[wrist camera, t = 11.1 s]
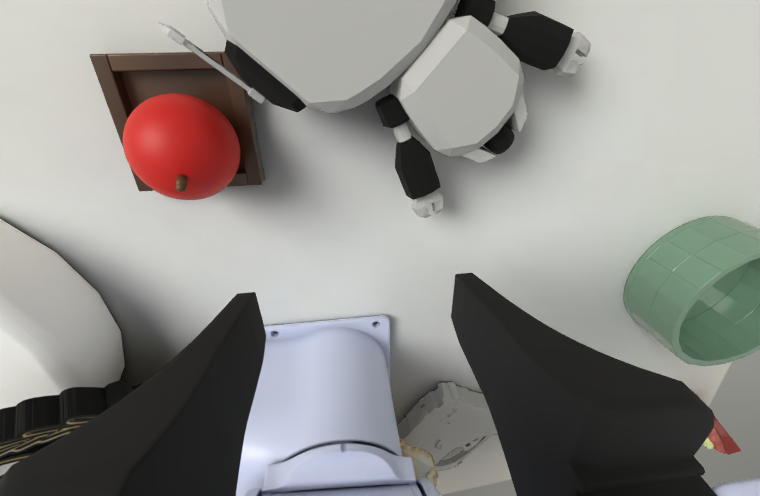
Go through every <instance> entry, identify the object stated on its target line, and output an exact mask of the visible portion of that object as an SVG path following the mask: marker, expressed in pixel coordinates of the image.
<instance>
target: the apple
mask: <svg viewBox="0 0 760 496" xmlns="http://www.w3.org/2000/svg"><path fill="white" fill-rule="evenodd" d="M123 147H124V152H125V155H126V158H127V161H128V163H129V165H130V167H131V168H132V170H133V171H134V172H135V174H136V175H137V176H138V177H139V178H140V179H141V180H142V181H143V182H144V183H145V184H146V185H148V186H149V187H150V188H152V189H153V190H155V191H157V192H159V193H161V194H163V195H165V196H168V197H172V198H176V199H181V200H197V199H203V198H206V197H210V196H212V195H214V194H217V193H218V192H220V191H221V190H223V189H224V188H225V187H226V186H227V185H228V184H229V183H230V182H231V181H232V179H233V178H234V176H235V175H236V172H237V170H238V167H239V163H240V145H239V140H238V137H237V134H236V132H235V130H234V128H233V126H232V125H231V123H230V122H229V120H228V119H227V118H226V117H225V116H224V115H223V114H222V113H221V112H220V111H219V110H218V109H217V108H216V107H214V106H213V105H211V104H210V103H208V102H206V101H204V100H202V99H200V98H197V97H194V96H191V95H186V94H179V93H167V94H161V95H158V96H154V97H151V98H149V99H147V100H145V101H144V102H142V103H141V104H140V105H138V106H137V107H136V108H135V109H134V110H133V111H132V113H131V114H130V116H129V117H128V119H127V122H126V124H125V127H124V132H123Z"/></svg>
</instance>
